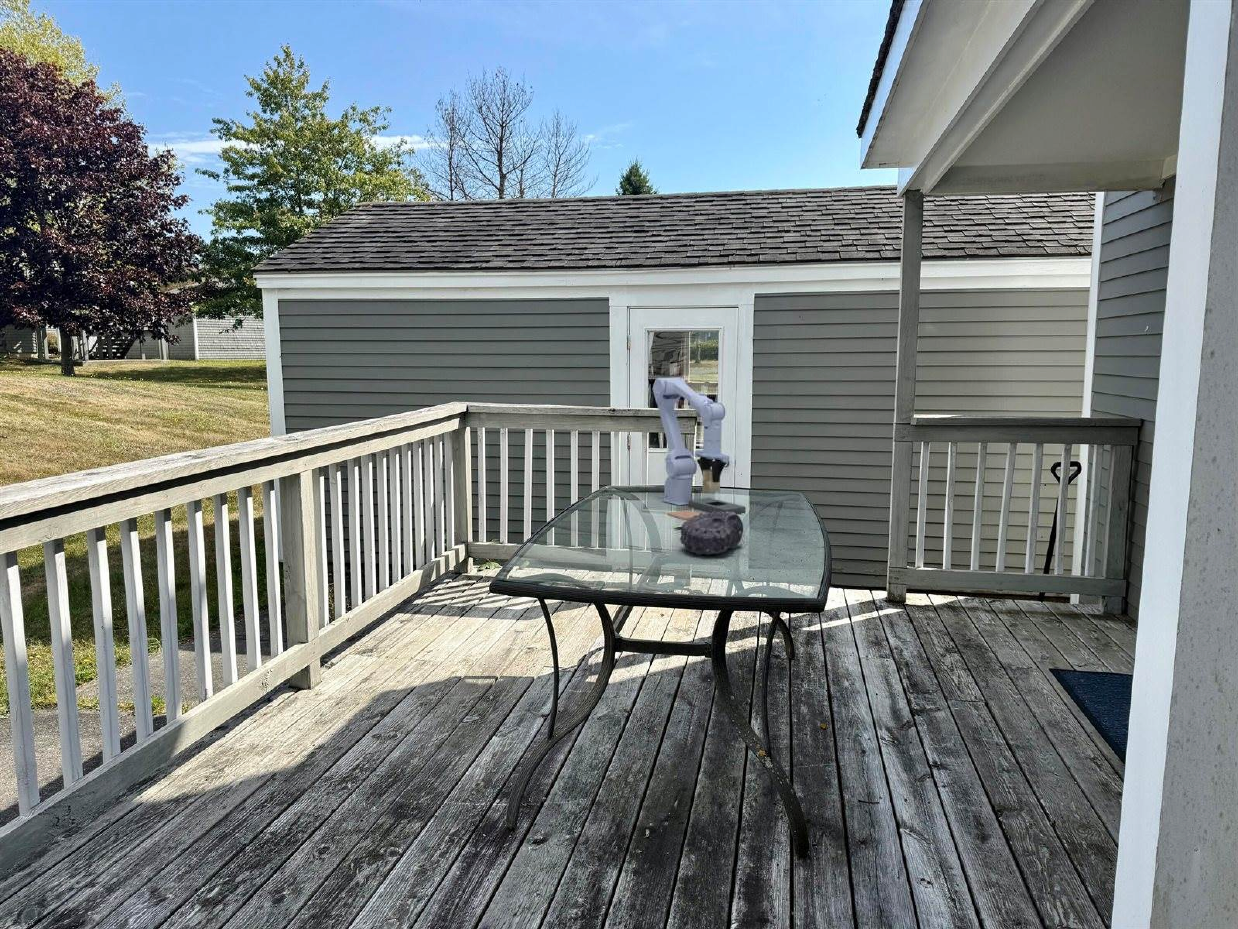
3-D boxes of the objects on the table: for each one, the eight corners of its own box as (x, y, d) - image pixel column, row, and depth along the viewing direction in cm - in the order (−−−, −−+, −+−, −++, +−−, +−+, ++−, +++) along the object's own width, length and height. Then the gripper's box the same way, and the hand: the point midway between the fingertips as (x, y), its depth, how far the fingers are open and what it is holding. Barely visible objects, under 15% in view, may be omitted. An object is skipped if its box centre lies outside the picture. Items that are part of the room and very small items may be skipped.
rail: (688, 507, 288) (688, 500, 288) (708, 504, 294) (708, 497, 293) (725, 516, 274) (725, 510, 274) (745, 513, 279) (745, 506, 279)
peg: (702, 491, 281) (703, 470, 280) (711, 489, 284) (711, 469, 283) (710, 492, 278) (711, 471, 277) (719, 491, 281) (720, 470, 279)
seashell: (745, 550, 240) (707, 517, 246) (760, 519, 231) (720, 486, 237) (701, 581, 227) (662, 545, 234) (715, 550, 219) (674, 514, 225)
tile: (667, 515, 276) (667, 513, 276) (688, 511, 281) (688, 509, 281) (685, 520, 269) (685, 518, 269) (706, 516, 274) (706, 514, 274)
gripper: (688, 438, 281) (687, 479, 284) (718, 443, 270) (717, 485, 272) (703, 437, 286) (702, 477, 288) (734, 441, 274) (733, 483, 276)
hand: (711, 481), depth 280 cm, fingers closed on peg, 4 cm apart
